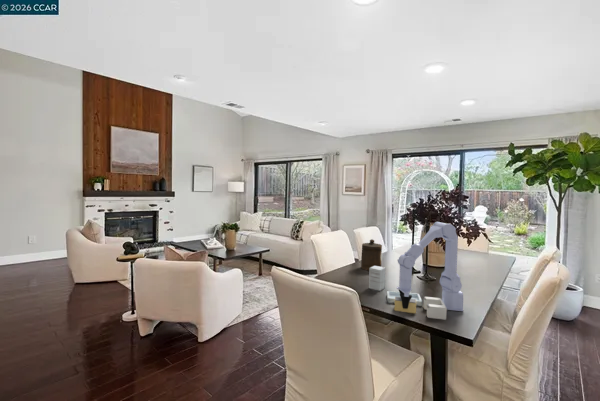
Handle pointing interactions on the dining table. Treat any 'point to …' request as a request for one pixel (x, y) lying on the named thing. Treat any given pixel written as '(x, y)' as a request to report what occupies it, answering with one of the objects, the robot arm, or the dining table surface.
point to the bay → (435, 308)
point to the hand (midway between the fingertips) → (404, 306)
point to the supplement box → (377, 278)
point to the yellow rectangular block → (399, 306)
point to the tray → (393, 294)
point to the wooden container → (371, 255)
